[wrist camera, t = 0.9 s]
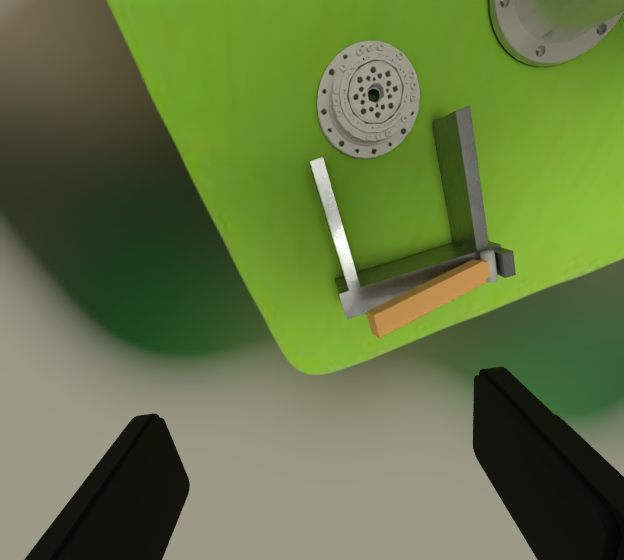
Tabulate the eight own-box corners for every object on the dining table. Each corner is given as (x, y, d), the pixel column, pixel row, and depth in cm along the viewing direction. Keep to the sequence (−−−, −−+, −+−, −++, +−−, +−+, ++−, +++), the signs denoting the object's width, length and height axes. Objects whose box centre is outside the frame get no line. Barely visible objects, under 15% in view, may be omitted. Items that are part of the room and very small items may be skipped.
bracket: (454, 115, 29) (495, 94, 23) (476, 260, 34) (516, 277, 28) (300, 169, 31) (297, 163, 24) (341, 301, 35) (349, 326, 29)
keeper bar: (485, 249, 28) (497, 250, 27) (489, 276, 29) (500, 278, 28) (364, 307, 25) (372, 311, 24) (373, 336, 26) (380, 341, 25)
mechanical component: (418, 149, 30) (411, 37, 27) (436, 143, 26) (429, 10, 23) (325, 167, 31) (308, 59, 28) (328, 164, 27) (308, 36, 24)
